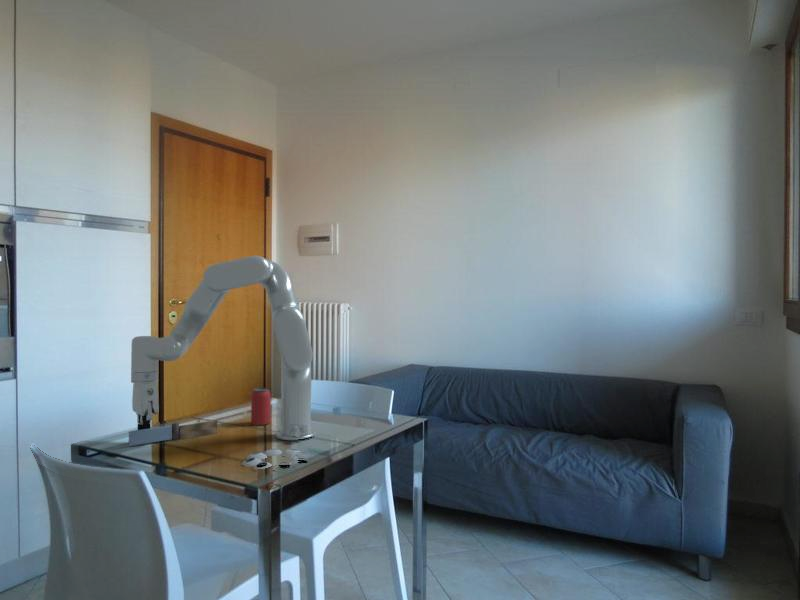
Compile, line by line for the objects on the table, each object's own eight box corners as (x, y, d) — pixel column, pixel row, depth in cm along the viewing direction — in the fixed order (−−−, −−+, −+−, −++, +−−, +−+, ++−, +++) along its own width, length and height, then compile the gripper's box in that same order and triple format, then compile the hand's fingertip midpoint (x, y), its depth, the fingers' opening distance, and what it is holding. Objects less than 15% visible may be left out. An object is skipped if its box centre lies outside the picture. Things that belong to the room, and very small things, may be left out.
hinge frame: (214, 432, 184) (215, 417, 184) (217, 433, 182) (217, 418, 182) (170, 439, 174) (170, 423, 174) (173, 440, 173) (173, 424, 173)
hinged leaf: (170, 438, 174) (170, 425, 174) (171, 439, 173) (171, 426, 173) (128, 444, 166) (128, 431, 166) (129, 445, 165) (130, 432, 165)
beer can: (271, 424, 195) (272, 390, 195) (252, 426, 192) (252, 391, 192) (268, 420, 201) (269, 387, 201) (250, 422, 199) (250, 388, 198)
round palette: (327, 457, 159) (327, 450, 159) (288, 478, 141) (288, 470, 141) (269, 449, 166) (269, 442, 166) (225, 468, 148) (225, 461, 148)
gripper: (166, 378, 168) (165, 440, 168) (149, 372, 179) (148, 430, 179) (140, 381, 162) (139, 444, 163) (123, 374, 173) (122, 433, 174)
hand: (143, 436), depth 171 cm, fingers closed
